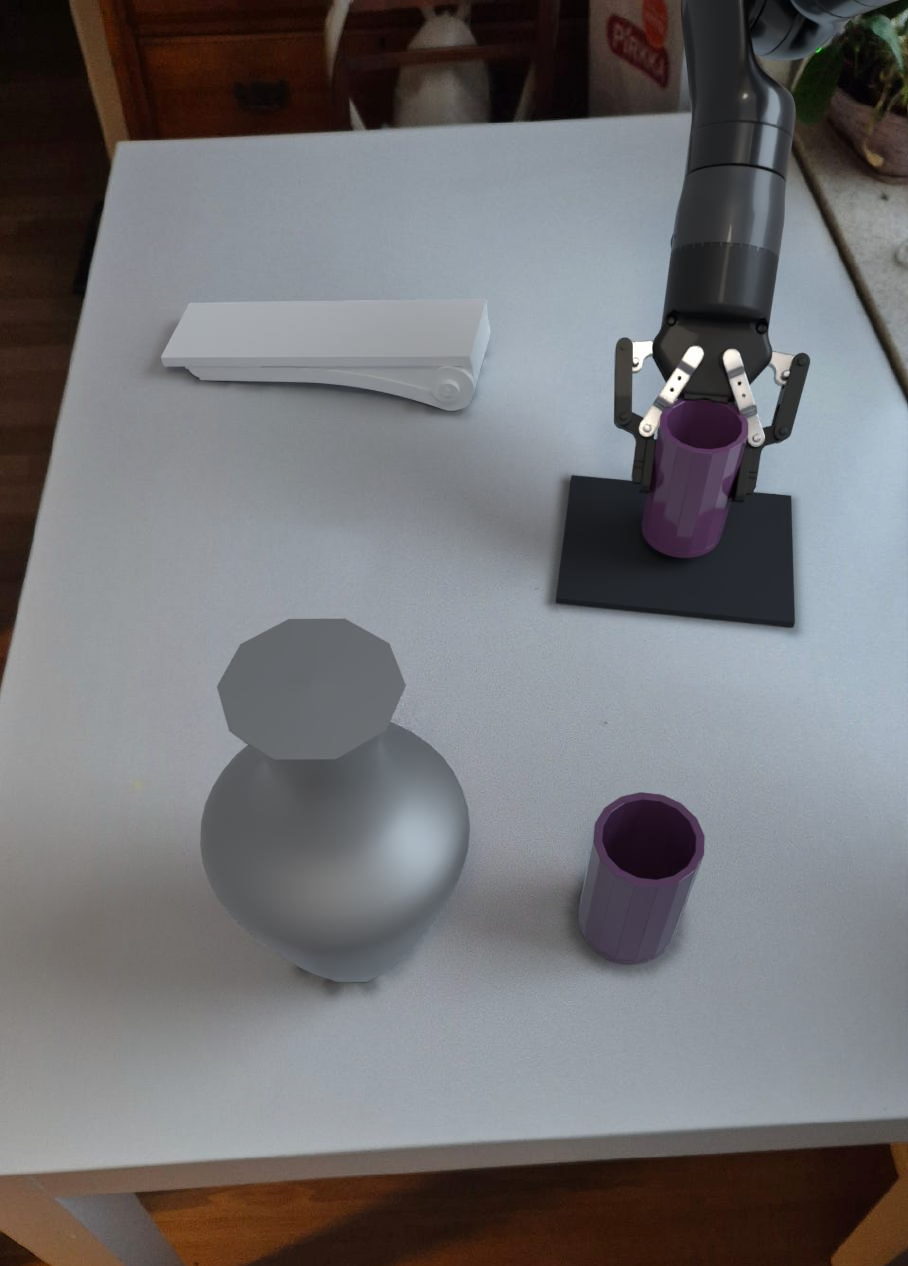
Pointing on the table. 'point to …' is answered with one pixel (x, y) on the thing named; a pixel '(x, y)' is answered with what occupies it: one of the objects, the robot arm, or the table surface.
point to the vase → (330, 804)
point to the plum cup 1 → (693, 476)
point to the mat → (677, 559)
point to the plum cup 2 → (639, 876)
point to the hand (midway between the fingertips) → (691, 496)
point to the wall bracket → (340, 345)
